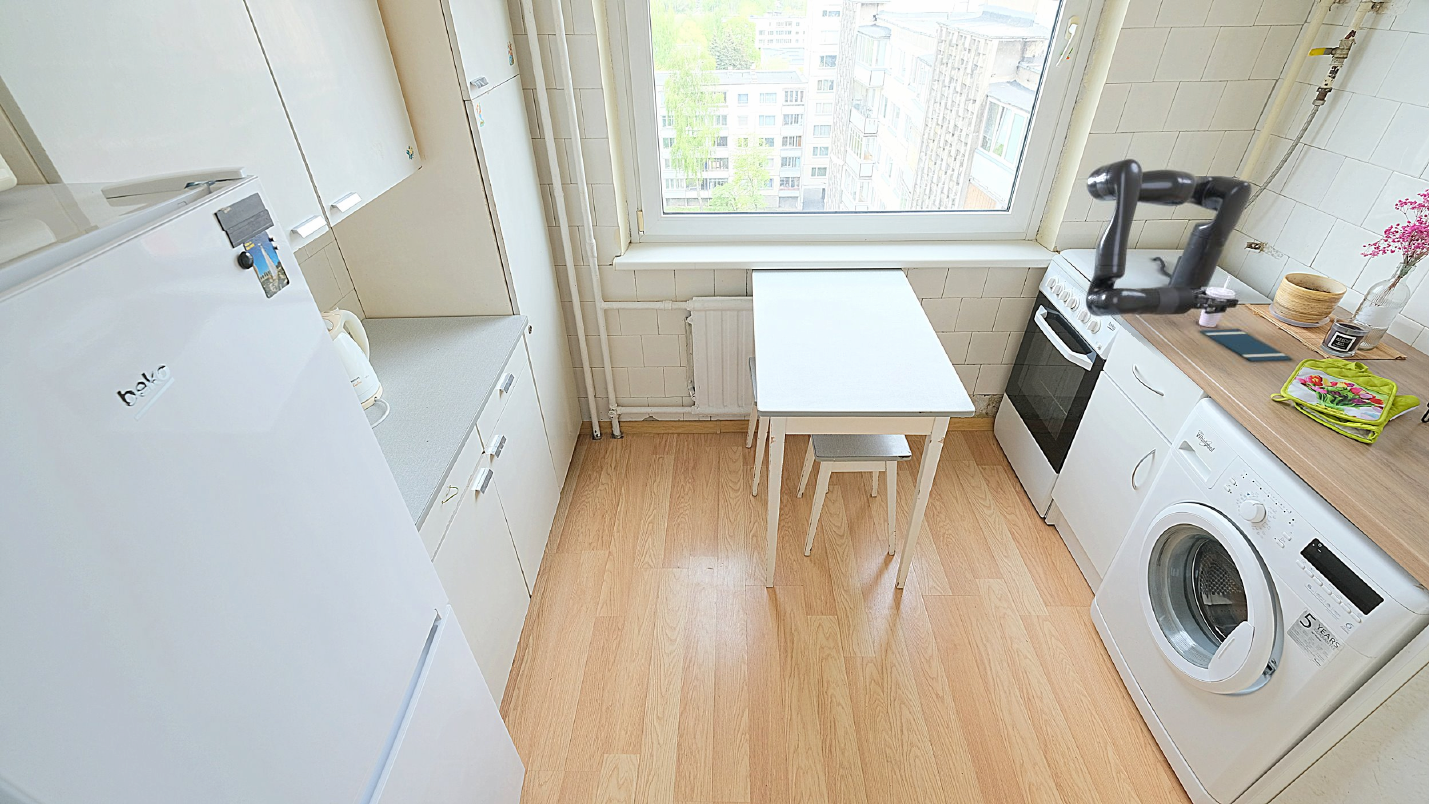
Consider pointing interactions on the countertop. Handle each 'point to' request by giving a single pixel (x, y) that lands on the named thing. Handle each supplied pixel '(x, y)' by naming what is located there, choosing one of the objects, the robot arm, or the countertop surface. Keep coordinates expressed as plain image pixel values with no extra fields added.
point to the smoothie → (1218, 293)
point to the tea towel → (1245, 345)
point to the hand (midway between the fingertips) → (1226, 298)
